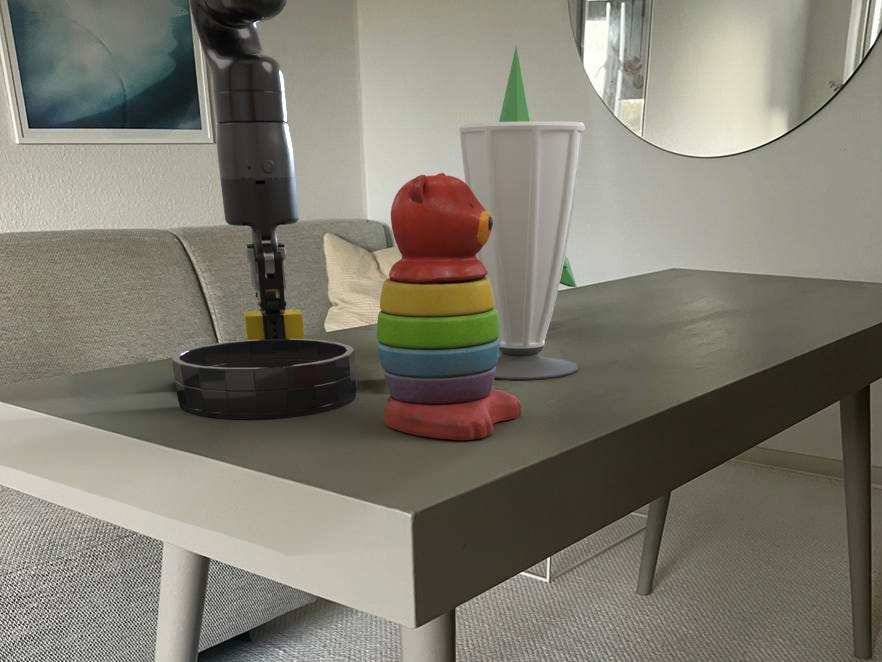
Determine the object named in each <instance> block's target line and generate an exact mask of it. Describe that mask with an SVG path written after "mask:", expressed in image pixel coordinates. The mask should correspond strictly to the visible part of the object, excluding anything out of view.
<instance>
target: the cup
mask: <svg viewBox="0 0 882 662" xmlns="http://www.w3.org/2000/svg"><path fill="white" fill-rule="evenodd" d="M585 130H586V125H585V124H584V122H580V121H560V120H558V121H554V120H553V121H551V120H550V121H549V120H548V121H547V120H546V121H545V120H544V121H542V120H538V121H537V120H535V121H534V120H531V121H522V122H499V121H490V122H489V121H486V122H469V123H462V124H461V125H460V126H459V136H460V137H459V139H460V146H461V147H460V148H461V155H462V156H461V157H462V167H463V175H464V182H465V183H466V184H467V185H468V186H469V188H470V189H471V190H472V192H473V194H474V195H475V197H476V198H477V200H478V201H479V202H480V204H481V205H482V206H483V207H484V208H485V209H486V210H487V211H488V213H489V214H490V215H491V216H492V219H493V226H492V230H491V233H490V236H489V239H488V241H487V242H486V244H485V245H484V246H483V247H482V249H481V250H480V251H479V252H478V253H477V254H476V257H477V259H478V260H480V261H481V262H482V263H483V264H484V266H485V267H486V269H487V271H488V274H487V275H486V276H485V277H486V278H488V279H489V281H490V283H491V287H492V291H493V296H494V301H495V306H494V308H495V309H496V310H497V313H498V318H499V326H500V335H499V337H498V338H499V341H500V346H499V353H501V355H500V356H499V355H498V361H497V364H496V366H495V368H496V371H495V377H494V380H504V381H536V380H537V381H538V380H548V379H556V378H557V379H558V378H561V377H566V376H570V375H572V374H574V373H576V372H577V371H579V367H578V365H577V363H575V362H572V361H570V360H567V359H561V358H555V357H546V356H543V355H541V354H540V352H542V350H543V348H544V346H545V340H546V338H547V335H548V330H549V327H550V324H551V320H552V317H553V313H554V310H555V307H556V302H557V301H556V300H557V296H558V292H559V287H560V279H561V274H562V270H563V265H564V260H565V256H566V255H567V249H568V241H569V237H570V231H571V224H572V218H573V213H574V208H575V207H574V206H575V199H576V192H577V185H578V184H577V183H578V177H579V176H578V175H579V170H580V169H579V168H580V160H581V152H582V141H583V132H584V131H585Z"/></svg>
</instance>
